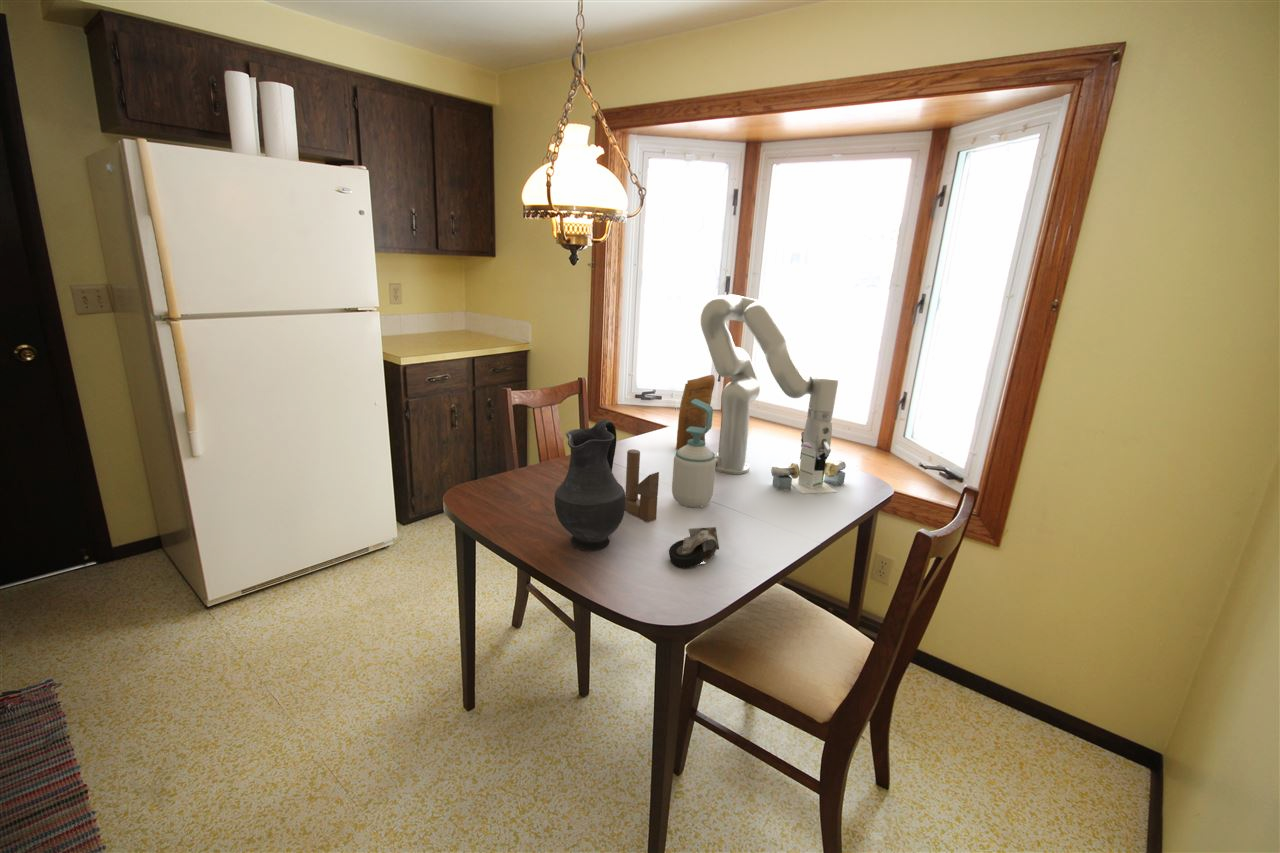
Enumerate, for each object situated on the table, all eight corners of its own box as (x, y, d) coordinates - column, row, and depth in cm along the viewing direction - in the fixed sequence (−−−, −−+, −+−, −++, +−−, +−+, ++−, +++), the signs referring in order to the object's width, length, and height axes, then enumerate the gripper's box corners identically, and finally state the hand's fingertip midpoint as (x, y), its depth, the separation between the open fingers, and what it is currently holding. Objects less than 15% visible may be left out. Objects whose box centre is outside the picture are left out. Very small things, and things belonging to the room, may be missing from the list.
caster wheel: (669, 576, 131) (674, 550, 140) (717, 574, 128) (719, 548, 137) (664, 553, 128) (670, 528, 137) (713, 550, 125) (715, 525, 134)
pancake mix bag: (715, 444, 221) (721, 375, 213) (681, 453, 209) (686, 380, 201) (702, 440, 226) (708, 372, 218) (669, 448, 214) (673, 377, 206)
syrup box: (811, 489, 179) (817, 447, 175) (797, 483, 184) (802, 441, 179) (822, 486, 182) (828, 444, 178) (807, 480, 187) (813, 439, 183)
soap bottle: (678, 490, 174) (684, 394, 165) (716, 498, 170) (725, 399, 161) (665, 505, 163) (671, 402, 154) (706, 513, 159) (715, 408, 150)
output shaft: (833, 487, 182) (837, 464, 180) (820, 482, 186) (823, 460, 183) (846, 482, 187) (849, 460, 185) (832, 478, 191) (835, 456, 188)
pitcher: (542, 549, 135) (541, 431, 127) (581, 515, 154) (583, 411, 145) (606, 565, 129) (610, 443, 121) (639, 528, 148) (644, 420, 139)
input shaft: (774, 490, 178) (777, 467, 175) (768, 484, 182) (770, 461, 180) (797, 489, 179) (800, 466, 177) (790, 483, 184) (793, 460, 182)
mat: (801, 493, 176) (802, 493, 176) (785, 479, 187) (785, 478, 187) (836, 492, 178) (836, 491, 178) (818, 478, 190) (818, 477, 189)
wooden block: (647, 523, 151) (650, 461, 146) (621, 509, 159) (623, 450, 154) (656, 519, 154) (660, 458, 149) (631, 506, 161) (633, 447, 156)
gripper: (845, 422, 169) (835, 474, 174) (817, 407, 185) (809, 455, 190) (822, 422, 167) (813, 475, 172) (796, 407, 183) (789, 455, 188)
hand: (811, 464), depth 181 cm, fingers open, 9 cm apart
